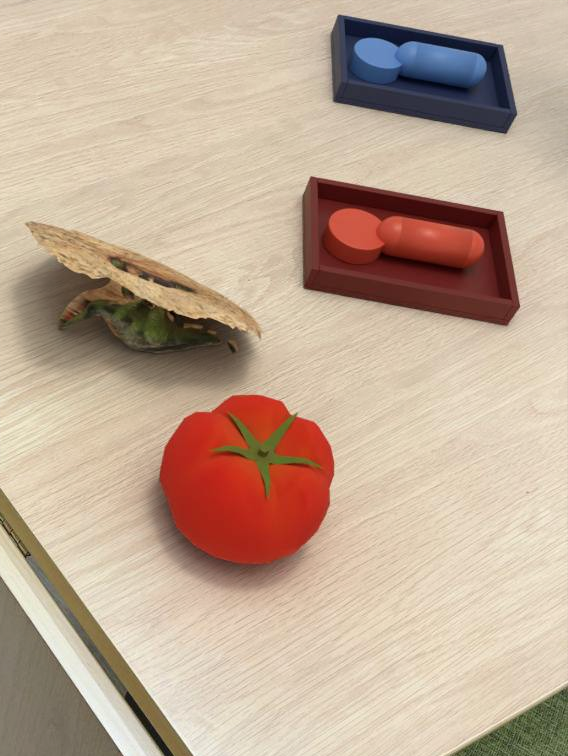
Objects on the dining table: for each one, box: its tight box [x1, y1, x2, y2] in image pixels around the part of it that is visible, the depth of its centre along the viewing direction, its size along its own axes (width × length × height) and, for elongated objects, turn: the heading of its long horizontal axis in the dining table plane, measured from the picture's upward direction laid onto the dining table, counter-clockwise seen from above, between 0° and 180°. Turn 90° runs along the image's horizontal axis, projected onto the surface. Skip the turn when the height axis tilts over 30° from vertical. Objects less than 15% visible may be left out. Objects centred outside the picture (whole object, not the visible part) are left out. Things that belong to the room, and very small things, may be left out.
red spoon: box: [322, 208, 484, 268], centre depth 79 cm, size 12×5×3 cm, turn 82°
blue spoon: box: [348, 38, 487, 88], centre depth 93 cm, size 12×5×3 cm, turn 82°
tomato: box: [158, 394, 335, 565], centre depth 62 cm, size 11×11×8 cm
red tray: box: [302, 175, 521, 326], centre depth 80 cm, size 16×11×2 cm
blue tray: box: [330, 13, 518, 134], centre depth 93 cm, size 16×11×2 cm
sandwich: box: [24, 220, 265, 355], centre depth 71 cm, size 18×14×8 cm
